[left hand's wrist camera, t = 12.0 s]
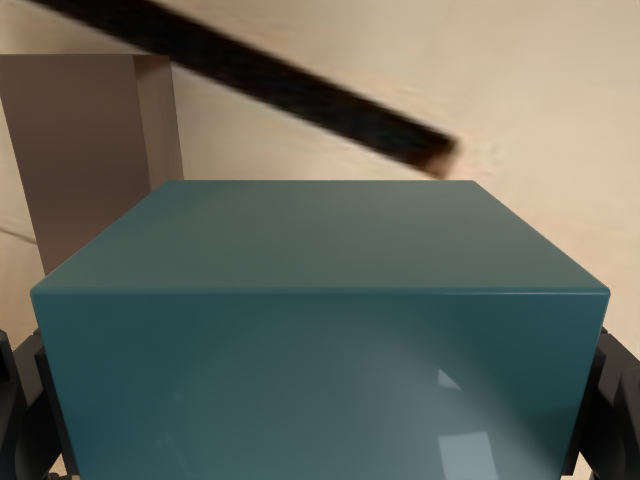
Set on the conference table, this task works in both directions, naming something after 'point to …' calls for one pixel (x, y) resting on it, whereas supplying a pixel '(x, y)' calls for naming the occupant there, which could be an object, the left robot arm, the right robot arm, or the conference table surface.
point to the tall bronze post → (88, 140)
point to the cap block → (320, 335)
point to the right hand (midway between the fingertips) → (168, 432)
